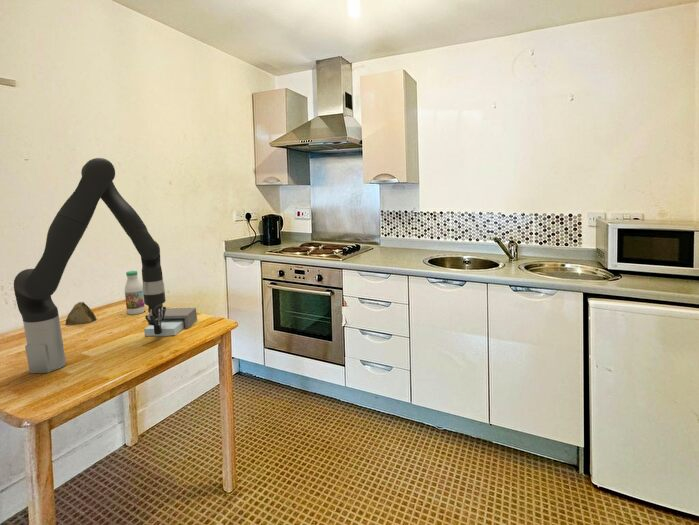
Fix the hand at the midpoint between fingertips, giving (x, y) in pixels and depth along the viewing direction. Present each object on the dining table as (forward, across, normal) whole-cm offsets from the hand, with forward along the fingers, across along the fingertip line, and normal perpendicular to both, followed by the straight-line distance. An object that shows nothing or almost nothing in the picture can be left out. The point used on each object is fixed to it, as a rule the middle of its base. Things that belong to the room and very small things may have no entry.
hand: (158, 333), depth 156 cm
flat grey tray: (+2, +10, 0) cm, 10 cm away
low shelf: (+2, +15, 0) cm, 15 cm away
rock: (+2, +20, +43) cm, 48 cm away
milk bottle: (+2, +33, +25) cm, 42 cm away
